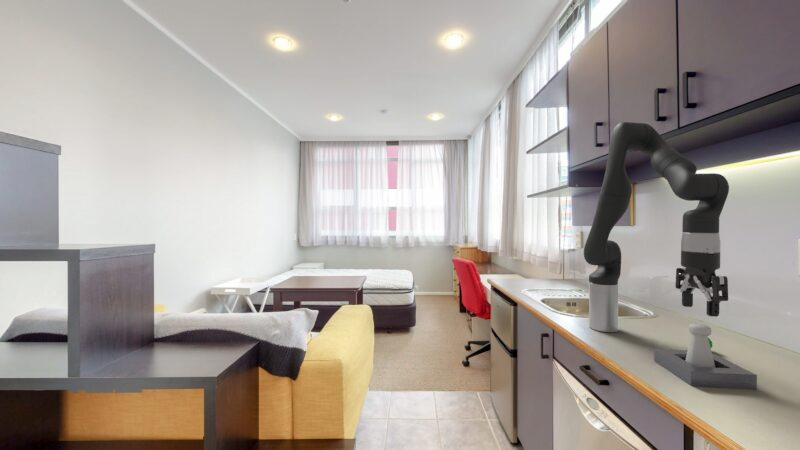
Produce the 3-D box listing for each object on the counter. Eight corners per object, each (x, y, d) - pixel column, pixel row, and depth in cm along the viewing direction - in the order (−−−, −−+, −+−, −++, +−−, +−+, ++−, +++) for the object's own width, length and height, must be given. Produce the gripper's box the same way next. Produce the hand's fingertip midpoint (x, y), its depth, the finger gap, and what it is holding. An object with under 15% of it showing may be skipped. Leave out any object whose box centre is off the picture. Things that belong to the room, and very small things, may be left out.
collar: (654, 360, 92) (654, 348, 91) (709, 363, 89) (709, 351, 89) (690, 385, 78) (690, 371, 78) (756, 389, 76) (756, 374, 76)
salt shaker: (712, 381, 80) (712, 329, 80) (682, 372, 84) (682, 324, 84) (717, 374, 83) (717, 325, 83) (689, 366, 88) (688, 319, 88)
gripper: (665, 247, 91) (665, 303, 91) (705, 252, 77) (704, 319, 77) (695, 247, 90) (694, 304, 90) (741, 252, 75) (740, 320, 76)
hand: (699, 311), depth 83 cm, fingers open, 8 cm apart
